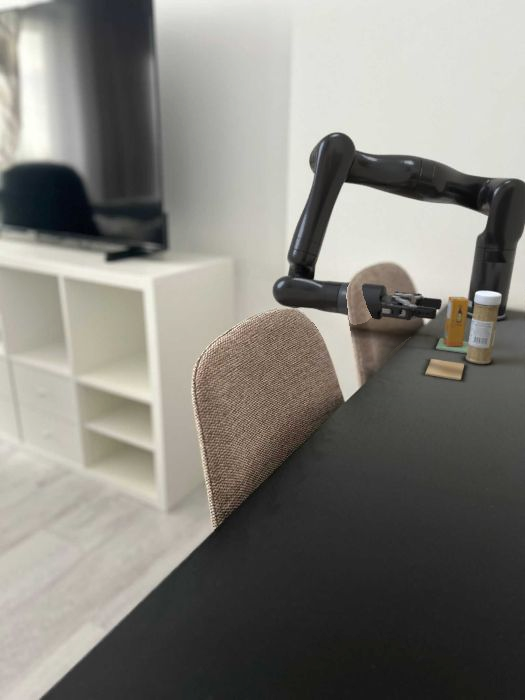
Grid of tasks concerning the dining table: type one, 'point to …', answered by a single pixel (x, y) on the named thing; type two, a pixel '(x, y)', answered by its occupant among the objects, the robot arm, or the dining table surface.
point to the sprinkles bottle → (483, 326)
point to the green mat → (452, 347)
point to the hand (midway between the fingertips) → (438, 309)
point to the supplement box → (455, 321)
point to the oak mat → (445, 369)
